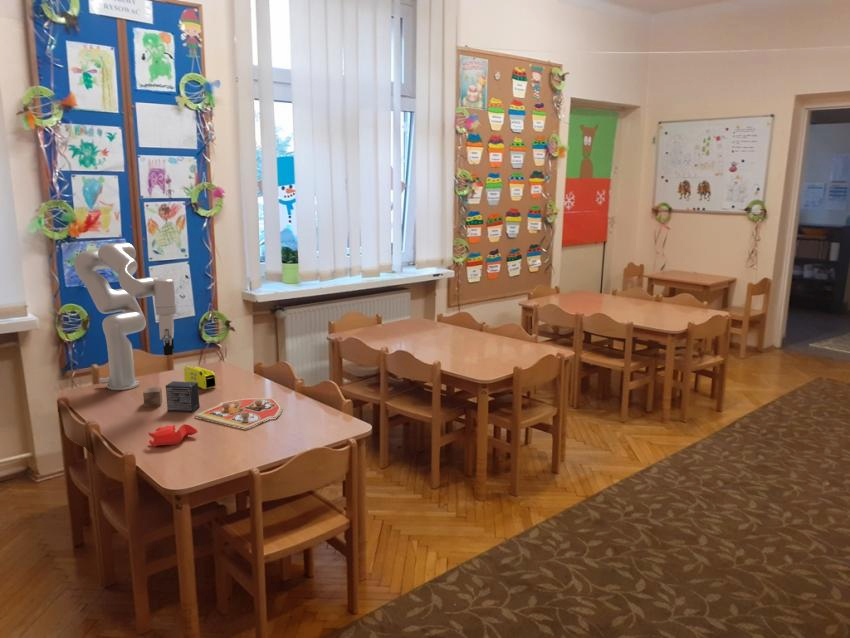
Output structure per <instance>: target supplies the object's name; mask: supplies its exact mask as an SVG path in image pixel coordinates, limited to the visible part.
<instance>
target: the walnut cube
mask: <svg viewBox="0 0 850 638" xmlns="http://www.w3.org/2000/svg"><path fill="white" fill-rule="evenodd" d="M142 394H143V395H142V397H143V407H144V408H152V407H161V406H162V404H163V393H162V386H159V387H158V386H157V387H145V388H144V390H143V393H142Z"/></svg>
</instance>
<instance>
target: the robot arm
mask: <svg viewBox="0 0 850 638" xmlns="http://www.w3.org/2000/svg"><path fill="white" fill-rule="evenodd" d="M136 256H137V252H136V249H135V246H133V245H132V244H131V243H129V242H114V243H112V242H111V243H107V244H103V245H102V246H100V248H99V249H88V250H84V251H80V252H79V253H78V254H76V255H75V257H74V261H73V263H74V264H73V265H74V270H75V272H76V275H77V277H78V278H79V279H80V281H81V282H82V283H83V284H84V286H85V287H86V289H87V291H88V293H89V296H90V297H91V300H92V301H93V303H94V305H95V307H96V309H97V310H98V312H100V313H101V314H110V315H107V316H106V317H105V318H104V319H103V320H102V323H101V325H102V330H103V333H104V336H105V340H106V346H107V349H106V350H107V356H108V357H107V358H108V366H109V367H108V368H109V376H107V377H99V378H98V379H99V380H98V381H99V383H100V384H106V388H107V389H108V390H110V389H111V391H125V390H132V389H134V388H137V387H138V386H139V385H140V381H139V380H137V379H136V376H135V375H136V374H135V365H134V364H135V363H134V354H133V353H134V352H133V344H132V342H131V341H130V339H129V338H128V337H127V336H128V335H131V334H135V333H138V332H142V331H143V330H145V328H146V325H147V321H146V317H145V315H144V312H143V311H142V309H141V307H140V304H139V303H138V301H137V299H143V298H147V297H154V298H153V299H154V306H155V307H154V308H155V310H154V311H155V316H158V328H159V340H160V341H162V340H163V355H164V356H172V355H173V354H174V349H175V344H174V343H175V342H174V335H175V334H174V333H175V322H174V315H176V314H177V307H176V295H175V292H176V291H175V282H174V280H173V279H171V278H163V277H160V276H149V277H148V276H147V277H142V278H135V277H133V275H135V274H136V272H137V270H138V263H137V261H136ZM106 269H107V270H108V269H111V270H112V271H114V272H115V273H116V274H118V276H117V277H118V283H119V285H120V287H121V288H118V289H113V288H112V287H111V285H110V282H109V281H108V280H107V278H106V277H105V276H103V275H102V274H101V273H99V272H97V271H99V270H106ZM117 312H118V313H117Z"/></svg>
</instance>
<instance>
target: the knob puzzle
mask: <svg viewBox="0 0 850 638" xmlns="http://www.w3.org/2000/svg"><path fill="white" fill-rule="evenodd" d="M282 408H283V405H282V404H281V403H280V402H279V401H278V400H277V398H276V397H251V398H249V397H245V398H239V399H233V400H226V401H225V400H224V401H221V402H219V403H218V404H217V405H213V406H212V407H209V408H207V409H205V410H203V411H200V412H198V413H195V414H194V418H195V417H198V418H201V419H205V420H209V421H213V422H217V423H221V424H226V425H230V426H236V427H240V428H245V429H247V428H249V427H252V426H254V425H256V424H259V423H261V422H263V421H265V420H267V419H269V418H276V417H278V416H279V414H280V413H281V411H282V412H283V410H282ZM283 409H284V408H283ZM281 414H282V413H281ZM279 417H280V416H279ZM201 419H200V420H201ZM205 420H204V421H205ZM209 421H208V422H209ZM213 422H212V423H213ZM217 423H216V424H217ZM221 424H220V425H221ZM226 425H225V426H226ZM230 426H229V427H230Z"/></svg>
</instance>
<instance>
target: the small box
mask: <svg viewBox="0 0 850 638" xmlns="http://www.w3.org/2000/svg"><path fill="white" fill-rule="evenodd" d="M165 393H166V396H165V397H166V407H167V411H166V412H171V411H172V412H171V413H174V412H177V413H195V411H197V410H198V409H199V408H200V396H199V393H200V392H199V387H198V382H185V381H171V382H169V383H168V384H166V385H165Z"/></svg>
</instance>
